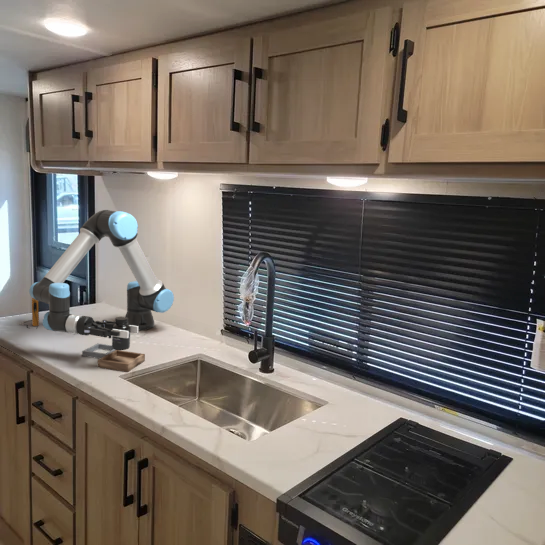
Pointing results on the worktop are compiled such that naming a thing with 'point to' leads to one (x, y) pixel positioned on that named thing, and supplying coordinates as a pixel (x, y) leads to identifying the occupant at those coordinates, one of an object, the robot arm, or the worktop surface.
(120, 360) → the walnut tray
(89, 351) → the gray square frame
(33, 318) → the multimeter
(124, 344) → the supplement bottle
